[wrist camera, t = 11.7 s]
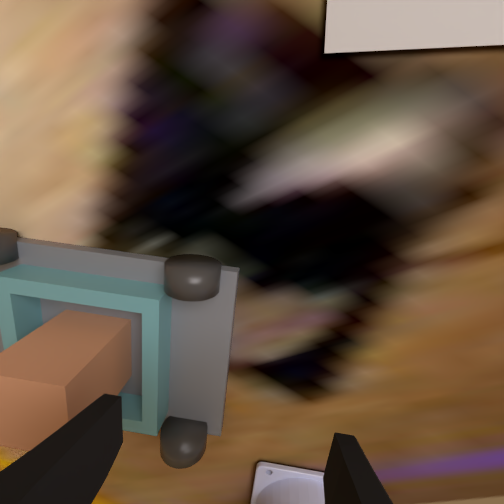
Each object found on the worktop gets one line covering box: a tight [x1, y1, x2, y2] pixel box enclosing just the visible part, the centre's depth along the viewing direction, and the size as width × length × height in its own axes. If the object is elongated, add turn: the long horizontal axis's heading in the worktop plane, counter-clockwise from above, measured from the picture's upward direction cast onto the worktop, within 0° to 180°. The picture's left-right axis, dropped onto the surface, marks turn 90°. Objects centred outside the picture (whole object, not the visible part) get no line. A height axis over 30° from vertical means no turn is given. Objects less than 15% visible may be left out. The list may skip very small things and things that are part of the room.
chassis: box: [0, 228, 239, 469], centre depth 19 cm, size 18×14×3 cm
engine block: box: [0, 309, 132, 451], centre depth 17 cm, size 4×4×6 cm
